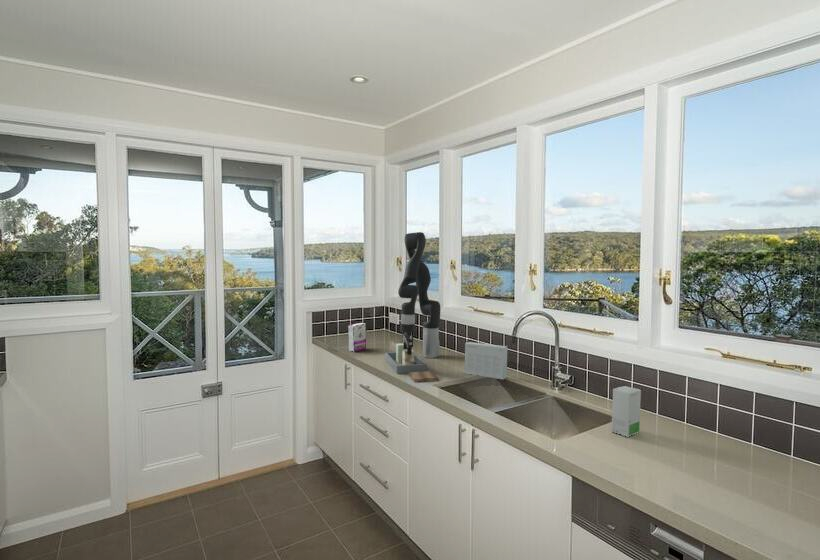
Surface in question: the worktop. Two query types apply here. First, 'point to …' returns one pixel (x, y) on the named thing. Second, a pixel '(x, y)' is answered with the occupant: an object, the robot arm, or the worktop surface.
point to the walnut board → (423, 376)
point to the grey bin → (416, 367)
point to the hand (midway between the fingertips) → (407, 352)
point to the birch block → (407, 358)
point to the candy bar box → (357, 337)
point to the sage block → (399, 352)
